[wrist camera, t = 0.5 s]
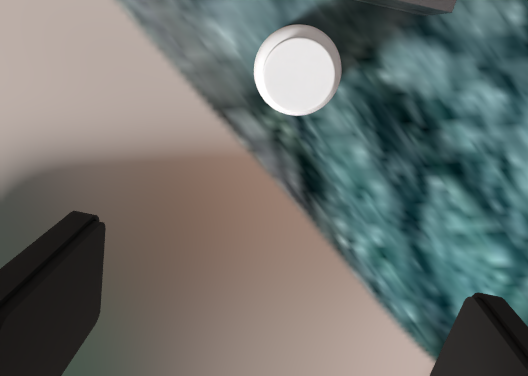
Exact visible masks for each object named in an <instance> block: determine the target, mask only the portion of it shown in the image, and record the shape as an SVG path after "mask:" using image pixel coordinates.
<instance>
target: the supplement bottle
mask: <svg viewBox="0 0 528 376" xmlns="http://www.w3.org/2000/svg"><path fill="white" fill-rule="evenodd" d="M341 72H342V67H341V60H340V56H339V53H338V50H337V48H336V46H335V44H334V43H333V41H332V40H331V39H330V38H329V37H328V36H327V35H326V34H325V33H324V32H322V31H321V30H319V29H317V28H315V27H312V26H309V25H302V24H297V25H289V26H285V27H283V28H280V29H278V30H277V31H275V32H273V33H272V34H271V35H270V36H269V37H268V38H267V39H266V40H265V41H264V42H263V44H262V45H261V47H260V49H259V51H258V53H257V56H256V59H255V64H254V78H255V83H256V86H257V89H258V91H259V93H260V95H261V96H262V98H263V99H264V100H265V101H266V103H268V104H269V105H270V106H271V107H272V108H274V109H275V110H277V111H279V112H281V113H284V114H288V115H296V116H299V115H306V114H310V113H313V112H315V111H317V110H319V109H320V108H322V107H323V106H325V105H326V104H327V103H328V102H329V101H330V100H331V98H332V97H333V96H334V94H335V92H336V90H337V88H338V86H339V83H340V79H341Z"/></svg>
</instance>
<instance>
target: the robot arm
mask: <svg viewBox="0 0 528 376" xmlns="http://www.w3.org/2000/svg"><path fill="white" fill-rule="evenodd" d="M104 241H105V224H104V223H103V222H99V217H98V216H97V215H92V214H87V213H83V212H77V211H73V212H71V213H69V214H68V215H67V216H66V217H65V218H63V219H62V220H61V221H59V222H58V223H57V224H56V225H55V226H53V227H52V228H51V229H49V230H48V231H47V232H46V233H44V234H43V235H42V236H41V237H39V238H38V239H37V240H36V241H35V242H33V243H32V244H31V245H30V246H28V247H27V248H26V249H25V250H23V251H22V252H21V253H20V254H18V255H17V256H16V257H15V258H13V259H12V260H11V261H10V262H8V263H7V264H6V265H5V266H3V267H2V268H1V269H0V376H61V375H62V374H63V372H64V371H65V369H66V368H67V366H68V364H69V363H70V362H71V360H72V359H73V357H74V355H75V354H76V352H77V351H78V350H79V348H80V346H81V345H82V343H83V342H84V340H85V339H86V338H87V336H88V335H89V333H90V331H91V330H92V329H93V327H94V326H95V324H96V322H97V320H98V317H99V314H100V305H101V291H102V274H103V258H104V243H105V242H104ZM430 376H528V327H527V325H526V324H525V323H524V322H523V321H522V320H521V318H520V317H519V316H518V315H517V314H516V313H515V311H514V310H513V309H512V308H511V307H510V306H509V304H508V303H507V302H506V301H505V300H504V299H503V298H502V297H498V296H493V295H488V294H483V293H475V294H474V295H473V296H472V297H468V298H466V299H465V301H464V303H463V305H462V307H461V309H460V312H459V314H458V316H457V318H456V320H455V322H454V324H453V327H452V329H451V331H450V333H449V335H448V337H447V339H446V342H445V344H444V346H443V348H442V350H441V352H440V354H439V357H438V359H437V361H436V363H435V365H434V367H433V370H432V372H431V374H430Z"/></svg>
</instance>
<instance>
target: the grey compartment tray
mask: <svg viewBox="0 0 528 376" xmlns="http://www.w3.org/2000/svg"><path fill="white" fill-rule="evenodd" d="M355 1H359V2H364V3H368V4H373V5H377V6H382V7H386V8H391V9H395V10H400V11H404V12H409V13H414V14H418V15H423V16H428V15H436V14H444V13H452V11H453V8H454V5H455V2H456V0H355Z"/></svg>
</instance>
